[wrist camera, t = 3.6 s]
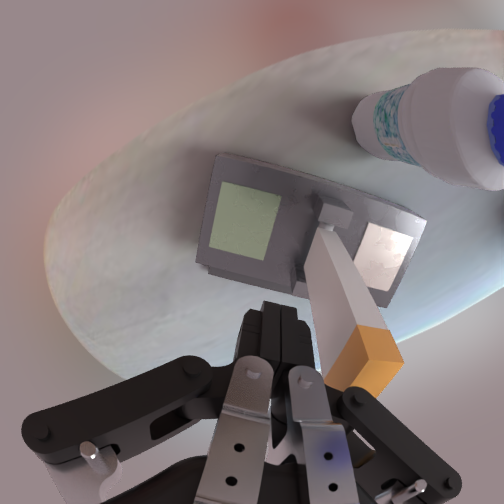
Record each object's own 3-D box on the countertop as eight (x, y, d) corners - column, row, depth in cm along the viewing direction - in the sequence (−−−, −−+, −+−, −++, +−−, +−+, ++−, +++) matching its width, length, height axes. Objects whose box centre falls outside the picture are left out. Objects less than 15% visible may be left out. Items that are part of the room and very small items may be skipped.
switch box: (409, 209, 26) (443, 232, 19) (375, 288, 30) (396, 326, 23) (224, 152, 25) (206, 158, 18) (205, 245, 29) (185, 279, 22)
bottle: (371, 172, 24) (523, 257, 6) (331, 116, 23) (467, 82, 4) (417, 137, 22) (581, 174, 4) (380, 82, 21) (535, 34, 2)
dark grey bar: (366, 291, 30) (368, 295, 29) (359, 305, 31) (361, 310, 30) (213, 253, 29) (211, 257, 29) (209, 269, 30) (208, 273, 29)
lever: (335, 223, 22) (409, 355, 8) (318, 269, 24) (355, 421, 10) (316, 217, 22) (374, 351, 8) (300, 264, 24) (323, 419, 10)
